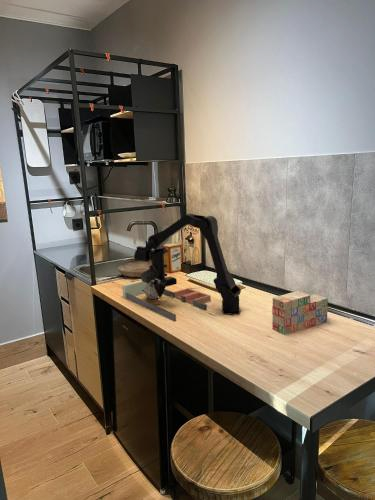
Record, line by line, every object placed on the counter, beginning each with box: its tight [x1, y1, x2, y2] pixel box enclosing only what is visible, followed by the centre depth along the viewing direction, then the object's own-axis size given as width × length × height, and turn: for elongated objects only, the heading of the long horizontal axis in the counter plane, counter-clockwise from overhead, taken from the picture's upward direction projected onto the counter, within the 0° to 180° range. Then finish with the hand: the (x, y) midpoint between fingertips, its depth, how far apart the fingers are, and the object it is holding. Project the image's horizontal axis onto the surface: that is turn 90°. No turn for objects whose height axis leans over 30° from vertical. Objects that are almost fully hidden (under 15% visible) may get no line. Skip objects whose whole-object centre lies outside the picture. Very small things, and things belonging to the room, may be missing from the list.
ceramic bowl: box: [117, 261, 152, 278], centre depth 213 cm, size 23×24×5 cm
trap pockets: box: [173, 287, 212, 306], centre depth 168 cm, size 16×9×2 cm, turn 39°
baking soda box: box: [161, 242, 184, 275], centre depth 216 cm, size 10×6×16 cm
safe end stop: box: [121, 279, 150, 299], centre depth 178 cm, size 2×17×6 cm, turn 129°
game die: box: [142, 283, 158, 301], centre depth 170 cm, size 9×8×10 cm
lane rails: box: [125, 288, 208, 322], centre depth 163 cm, size 38×17×2 cm, turn 39°
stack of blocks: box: [271, 290, 329, 336], centre depth 135 cm, size 21×6×12 cm, turn 119°
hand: (160, 296), depth 165 cm, fingers closed
